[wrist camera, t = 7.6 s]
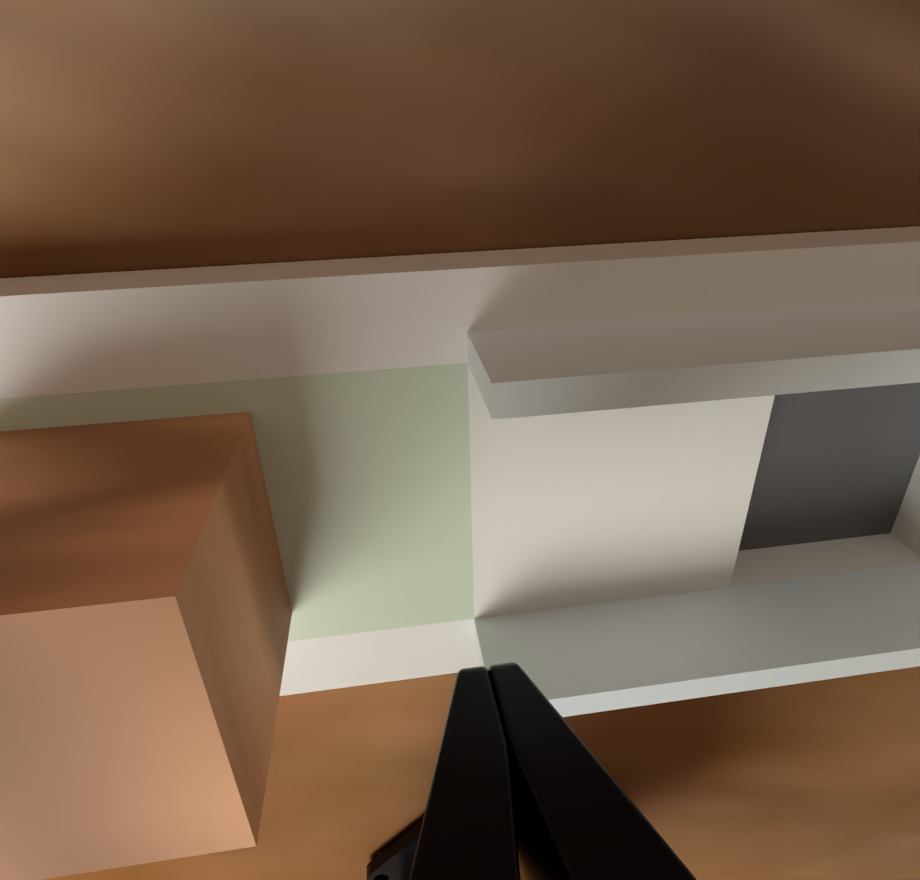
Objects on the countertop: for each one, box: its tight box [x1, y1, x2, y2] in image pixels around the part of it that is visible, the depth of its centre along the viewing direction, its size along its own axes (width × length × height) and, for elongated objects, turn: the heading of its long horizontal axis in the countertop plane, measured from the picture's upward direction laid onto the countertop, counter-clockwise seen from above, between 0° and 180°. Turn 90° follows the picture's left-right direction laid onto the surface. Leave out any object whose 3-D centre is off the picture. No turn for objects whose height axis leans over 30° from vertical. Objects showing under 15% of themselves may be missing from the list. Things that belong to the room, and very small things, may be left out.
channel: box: [0, 226, 920, 717], centre depth 13 cm, size 24×10×4 cm, turn 92°
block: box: [0, 412, 292, 880], centre depth 10 cm, size 5×5×5 cm
